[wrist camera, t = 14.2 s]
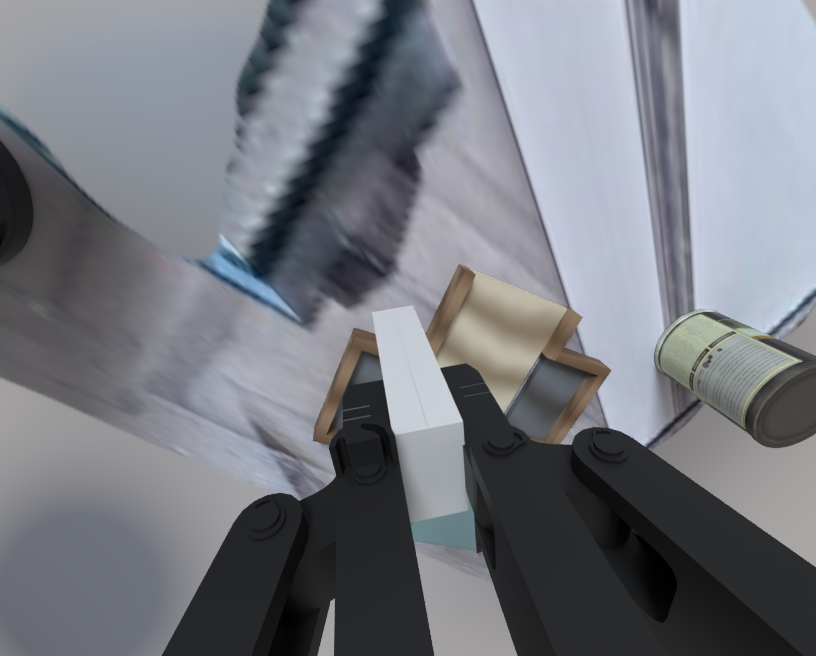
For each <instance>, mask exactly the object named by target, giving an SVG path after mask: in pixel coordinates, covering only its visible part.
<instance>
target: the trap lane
mask: <svg viewBox="0 0 816 656" xmlns="http://www.w3.org/2000/svg"><path fill="white" fill-rule="evenodd" d="M582 318H583V317H582V316H580V315H579V314H578V313H576V312H575V311H573V310H572V309H570V308H568V307H565V306H563V305H560V304H558V303H555V302H553V301H550V300H548V299H545V298H543V297H540V296H538V295H535V294H533V293H530V292H528V291H525V290H523V289H520V288H518V287H515V286H513V285H510V284H508V283H505V282H503V281H500V280H498V279H495V278H493V277H490V276H488V275H485V274H483V273H480V272H478V271H475V270H473V269H470V268H468V267H465V266H463V265H460V264H459V266H458V268H457V270H456V272H455V274H454V276H453V278H452V280H451V282H450V284H449V286H448V288H447V291H446V293H445V295H444V297H443V299H442V301H441V303H440V305H439V307H438V309H437V311H436V314H435V316H434V318H433V320H432V322H431V324H430V326H429V328H428V330H427V332H426V334H425V335H426V337H427V339H428V342H429V344H430V346H431V349H432V351H433V353H434V356H435V358H436V360H437V363H438V365H439V367H440V368H442V367H448V366H453V365H459V364H464V363H467V364H468V365H470V366H471V367H473V368H475V369H476V370H478V371H479V373H480V375H481V376H482V378H483V380H484V381H485V384H486V385H487V386H488V388H489V390H490V392H491V393H492V395H493V396H494V398H495V400H496V401H497V403H498V405H499V406H500V408H501V410H502V411H503V413H504V412H505V410H506V409H507V407H508V406H509V404H510V402H511V401H512V399H513V397H514V396H515V394H516V392H517V391H518V389H519V388H520V386H521V384H522V383H523V381H524V379H525V378H526V376H527V374H528V373H529V371H530V370H531V368H532V366H533V365H534V363H535V361H536V360H537V358H538V356H539V355H540V353H541V352H542V353H543V355H542V357H541V359H540V360H539V362H538V364H537V365H536V367H535V368H534V370H533V372H532V373H531V375H530V377H529V378H528V380H527V381H526V383H525V385H524V386H523V388H522V390H521V391H520V393H519V394H518V396H517V398H516V399H515V401H514V403H513V404H512V406H511V407H510V409H509V411H508V412H507V414H506V418H507V420H508V421H509V423H510V425H511V426H514V427H516V428H518V429H520V430H522V431H524V432H525V433H526V434H527V436H528V437H529V438H530V439H531V440H533V441H536V442H539V443H547V444H560V443H561V442H562V440H563V439H564V438H565V436H566V435H567V433H568V432H569V430H570V429H571V428H572V426H573V425H574V423H575V422H576V420H577V419H578V418H579V416H580V415H581V413H582V412H583V410H584V409H585V408H586V406H587V405H588V403H589V402H590V400H591V399H592V398H593V396H594V395H595V393H596V392H597V390H598V389H599V388H600V386H601V385H602V383H603V382H604V380H605V379H606V378H607V376H608V375H609V373H610V372H611V370H610V369H609V368H608V367H607V366H606V365H604V364H603V363H602V362H601V361H600V360H597V359H594V358H592V357H589V356H586V355H583V354H580V353H578V352H575V351H572V350H569V349H567V348H564V346H565V344H566V343H567V341H568V340H569V338H570V337H571V335H572V333H573V332H574V330H575V329H576V327H577V325H578V324H579V322H580V321H581V319H582ZM378 380H383V375H382V369H381V363H380V357H379V352H378V346H377V340H376V334H373V333H370V332H366V331H363V330H360V329H357V328H354V330H353V332H352V335H351V337H350V340H349V342H348V345H347V347H346V350H345V352H344V355H343V357H342V360H341V362H340V365H339V367H338V370H337V372H336V375H335V377H334V380H333V382H332V385H331V387H330V390H329V392H328V394H327V397H326V399H325V402H324V404H323V407H322V409H321V412H320V414H319V417H318V419H317V422H316V424H315V427H314V436H313V441H316V442H321V443H325V444H330V443H331V439H332V438H333V437H334V435H335V434H336V433H337V432H338V431H339V430H340V429H342V428H343V396H344V394H345V393H346V391H347V390H348V388H349V386H350V385H356V384H361V383H367V382H372V381H378Z"/></svg>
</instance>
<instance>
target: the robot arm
mask: <svg viewBox="0 0 816 656" xmlns="http://www.w3.org/2000/svg"><path fill="white" fill-rule="evenodd" d="M32 216H33V212H32V203H31V197H30V193H29V190H28V187H27V184H26V182H25V179H24V177H23V175H22V173H21V171H20V169H19V167H18V166H17V164H16V162H15V161H14V159H13V158H12V156H11V155H10V153H9V152H8V151H7V149H6V148H5V147H4V145H3V144H2V143H1V142H0V265H2V264H4V263H6V262H8V261H9V260H11V259H12V258H13V257H14V256H15V255H17V254H18V252H19V251H20V250H21V249H22V248H23V246H24V245H25V243H26V241H27V239H28V237H29V234H30V231H31V226H32ZM372 316H373V322H374V328H375V334H376V340H377V346H378V352H379V357H380V363H381V369H382V375H383V380H378V381H372V382H367V383H361V384H356V385H350V386H349V388H348V390H347V391H346V393H345V394H344V396H343V428H342V429H340V430H339V431H338V432H337V433H336V434H335V435H334V437H333V438H332V439H331V443H330V446H329V450H330V454H331V458H332V461H333V465H334V469H335V472H336V477H335V478H334V480H333V481H332V482H331V483H330V484H329V485H327V486H326V487H325V488H323V489H322V490H320V491H318V492H317V493H315V494H313V495H311V496H309V497H307V498H305V499H303V500H301V501H299V500H297V499H296V498H295V497H293V496H292V495H289V494H284V493H277V494H271V495H267V496H265V497H262V498H260V499H258V500H256V501H254V502H253V503H252V504H250V505H249V506H248V507H247V508H245V509H244V510H243V511H242V512H241V514H240V515H239V516H238V518H237V519H236V520H235V522H234V523H233V525H232V527H231V529H230V531H229V532H228V534H227V536H226V538H225V540H224V542H223V544H222V545H221V547H220V549H219V551H218V553H217V555H216V556H215V558H214V560H213V562H212V564H211V566H210V568H209V569H208V571H207V573H206V575H205V577H204V579H203V580H202V582H201V584H200V586H199V588H198V590H197V592H196V593H195V595H194V597H193V599H192V601H191V603H190V605H189V606H188V608H187V610H186V612H185V614H184V616H183V617H182V619H181V621H180V623H179V625H178V627H177V629H176V630H175V632H174V634H173V636H172V638H171V640H170V641H169V643H168V645H167V647H166V649H165V651H164V653H163V654H162V656H317V655H318V650H319V646H320V642H321V638H322V634H323V630H324V626H325V622H326V618H327V613H328V610H329V606H330V601H331V600H333V599H334V598H335V636H334V656H434V651H433V646H432V640H431V635H430V629H429V624H428V618H427V612H426V607H425V601H424V596H423V591H422V585H421V579H420V574H419V568H418V563H417V557H416V551H415V546H414V540H413V535H412V529H411V524H410V523H412V522H417V521H421V520H426V519H431V518H435V517H440V516H445V515H449V514H454V513H458V512H463V511H468V510H469V503H468V498H469V501H470V504H471V507H472V510H473V512H474V522H475V539H476V550H477V553H479V552H481V549H482V552H483V555H484V558H485V561H486V564H487V567H488V570H489V573H490V576H491V578H492V581H493V584H494V587H495V590H496V593H497V596H498V599H499V602H500V605H501V608H502V611H503V614H504V617H505V620H506V623H507V626H508V629H509V632H510V634H511V638H512V640H513V643H514V646H515V649H516V652H517V655H518V656H816V567H815V566H813V565H812V564H810V563H809V562H807V561H806V560H804V559H803V558H802V557H800V556H799V555H797V554H796V553H795V552H793V551H792V550H790V549H789V548H788V547H786V546H785V545H783V544H782V543H780V542H779V541H778V540H776V539H775V538H773V537H772V536H771V535H769V534H768V533H766V532H765V531H763V530H762V529H761V528H759V527H757V526H756V525H755V524H754V523H752V522H751V521H749V520H748V519H746V518H745V517H744V516H742V515H741V514H739V513H738V512H736V511H735V510H734V509H732V508H731V507H729V506H728V505H726V504H725V503H724V502H722V501H721V500H720V499H718V498H717V497H715V496H714V495H712V494H711V493H710V492H708V491H707V490H705V489H704V488H702V487H701V486H700V485H698V484H697V483H695V482H694V481H693V480H691V479H690V478H688V477H687V476H686V475H684V474H683V473H681V472H680V471H678V470H677V469H675V468H674V467H673V466H671V465H670V464H668V463H667V462H666V461H664V460H663V459H661V458H660V457H659V456H657V455H656V454H654V453H653V452H651V451H650V450H649V449H647V448H646V447H644V446H643V445H642V444H640V443H639V442H637V441H636V440H634V439H633V438H631V437H630V436H628V435H626V434H624V433H622V432H620V431H617V430H613V429H609V428H600V427H593V428H588V429H584V430H582V431H581V432H579V433H578V434H576V435H575V437H574V440H573V443H572V445H563V444H547V443H539V442H536V441H533V440H531V439H530V438H529V437H528V436H527V434H526V433H525V432H524V431H522V430H520V429H518V428H516V427H514V426H511V425H510V423H509V421H508V420H507V418H506V416H505V415H504V413H503V411H502V410H501V408H500V406H499V405H498V403H497V401H496V400H495V398H494V396H493V395H492V393H491V392H490V390H489V388H488V386H487V385H486V384H485V381H484V380H483V378H482V376H481V375H480V373H479V371H478V370H476V369H475V368H473V367H471V366H470V365H468V364H467V363H464V364H459V365H453V366H448V367H442V368H440V367H439V365H438V363H437V360H436V358H435V356H434V353H433V351H432V349H431V346H430V344H429V342H428V339H427V337H426V335H425V333H424V330H423V328H422V326H421V323H420V321H419V319H418V316H417V314H416V312H415V309H414V307H413V305H412V306H406V307H400V308H394V309H388V310H382V311H376V312H372Z"/></svg>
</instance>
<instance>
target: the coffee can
mask: <svg viewBox="0 0 816 656" xmlns="http://www.w3.org/2000/svg"><path fill="white" fill-rule="evenodd" d="M655 363H656V366H657V368H658V370H659V371H660V372H661V373H662V374H664V375H666V376H668V377H669V378H671V379H672V380H673V381H675V382H676V383H678V384H679V385H681V386H682V387H683V388H685V389H686V390H688V391H689V392H690V393H692V394H693V395H695V396H696V397H697V398H699V399H700V400H702V401H703V402H704V403H706V404H707V405H709V406H710V407H711V408H713V409H714V410H716V411H717V412H719V413H720V414H721V415H723V416H724V417H726V418H727V419H728V420H730V421H731V422H733V423H734V424H735V425H737V426H738V427H740V428H741V429H742V430H744V431H746V432H747V433H748V434H750V435H751V436H752V437H753V439H754V440H756V441H757V442H758V443H760V444H761V445H763V446H766V447H771V448H781V447H787V446H791V445H794V444H796V443H799V442H801V441H803V440H805V439H807V438H809V437H811V436H812V435H814V434H816V356H814V355H812V354H810V353H807V352H805V351H803V350H801V349H798V348H796V347H794V346H792V345H789V344H787V343H785V342H783V341H780V340H778V339H776V338H774V337H771V336H769V335H767V334H765V333H762V332H760V331H758V330H756V329H753V328H751V327H749V326H746V325H744V324H742V323H740V322H737V321H735V320H733V319H731V318H729V317H726V316H724V315H722V314H720V313H718V312H717V311H714V310H709V309H701V310H696V311H692V312H690V313H687V314H685V315H683V316H682V317H680V318H679V319H677V320H676V321H675V322H673V323H672V324H671V325H670V326H669V327H668V328H667V329H666V330H665V332H664V333H663V335H662V336H661V338H660V339H659V341H658V344H657V346H656V350H655Z"/></svg>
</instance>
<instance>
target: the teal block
mask: <svg viewBox="0 0 816 656" xmlns="http://www.w3.org/2000/svg"><path fill="white" fill-rule="evenodd" d="M468 503H469V510H468V511H463V512H458V513H454V514H449V515H445V516H440V517H435V518H431V519H426V520H421V521H417V522H412V523H410V524H411V529H412V535H413V540H414V541H418V542H424V543H431V544H438V545H445V546H452V547H459V548H465V549H472V550H476V539H475V522H474V512H473V510H472V507H471V504H470V501H469V498H468Z"/></svg>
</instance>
